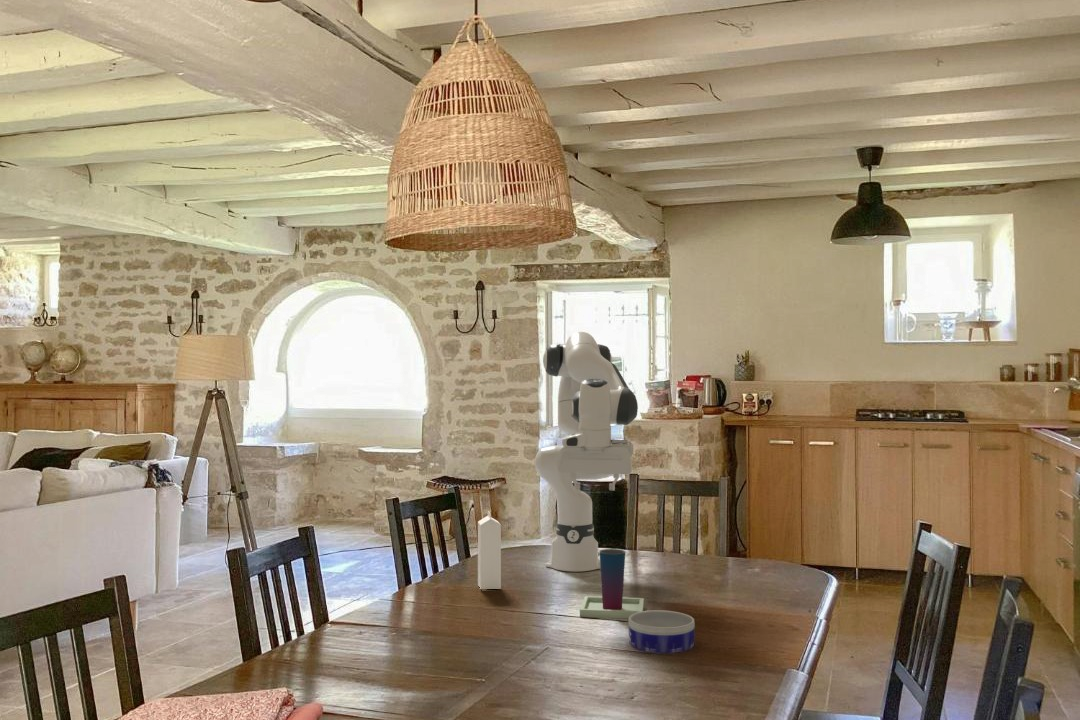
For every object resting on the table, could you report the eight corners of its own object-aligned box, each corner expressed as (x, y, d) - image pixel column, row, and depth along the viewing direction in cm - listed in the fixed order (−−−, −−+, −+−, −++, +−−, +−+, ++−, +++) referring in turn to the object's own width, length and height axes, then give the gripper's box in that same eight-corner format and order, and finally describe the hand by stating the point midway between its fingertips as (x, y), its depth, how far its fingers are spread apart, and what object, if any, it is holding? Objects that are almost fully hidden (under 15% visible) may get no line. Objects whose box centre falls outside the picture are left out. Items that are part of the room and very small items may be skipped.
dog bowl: (617, 638, 219) (617, 613, 219) (674, 631, 225) (674, 607, 225) (646, 657, 205) (646, 630, 205) (707, 650, 210) (707, 623, 210)
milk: (480, 590, 265) (480, 514, 265) (477, 585, 271) (477, 510, 271) (501, 589, 266) (500, 513, 266) (498, 584, 272) (497, 509, 272)
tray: (584, 602, 251) (584, 596, 251) (643, 604, 249) (643, 598, 249) (579, 616, 237) (579, 609, 237) (642, 619, 235) (642, 611, 235)
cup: (623, 612, 239) (623, 554, 239) (597, 610, 241) (597, 553, 241) (627, 605, 246) (627, 549, 246) (601, 604, 247) (601, 548, 247)
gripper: (633, 438, 252) (633, 488, 253) (559, 437, 255) (559, 487, 255) (632, 441, 246) (632, 492, 246) (556, 439, 248) (556, 491, 249)
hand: (594, 489), depth 251 cm, fingers open, 8 cm apart
